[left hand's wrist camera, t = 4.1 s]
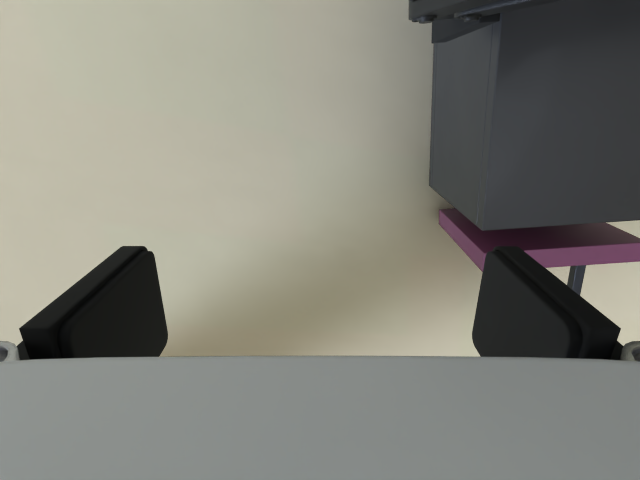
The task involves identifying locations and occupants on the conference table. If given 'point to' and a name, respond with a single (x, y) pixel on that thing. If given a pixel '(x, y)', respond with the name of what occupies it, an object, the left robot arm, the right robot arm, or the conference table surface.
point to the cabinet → (541, 117)
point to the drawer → (547, 244)
